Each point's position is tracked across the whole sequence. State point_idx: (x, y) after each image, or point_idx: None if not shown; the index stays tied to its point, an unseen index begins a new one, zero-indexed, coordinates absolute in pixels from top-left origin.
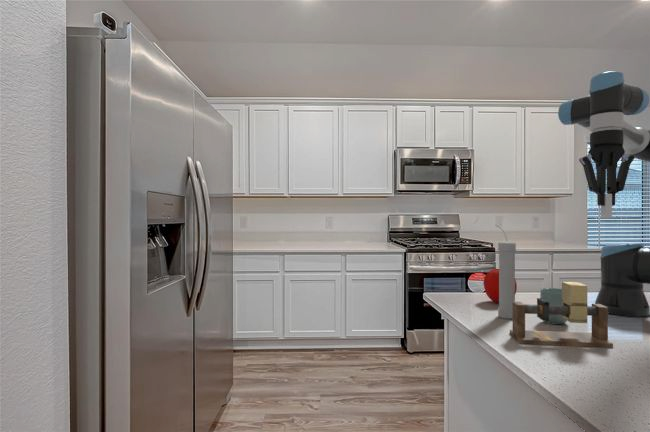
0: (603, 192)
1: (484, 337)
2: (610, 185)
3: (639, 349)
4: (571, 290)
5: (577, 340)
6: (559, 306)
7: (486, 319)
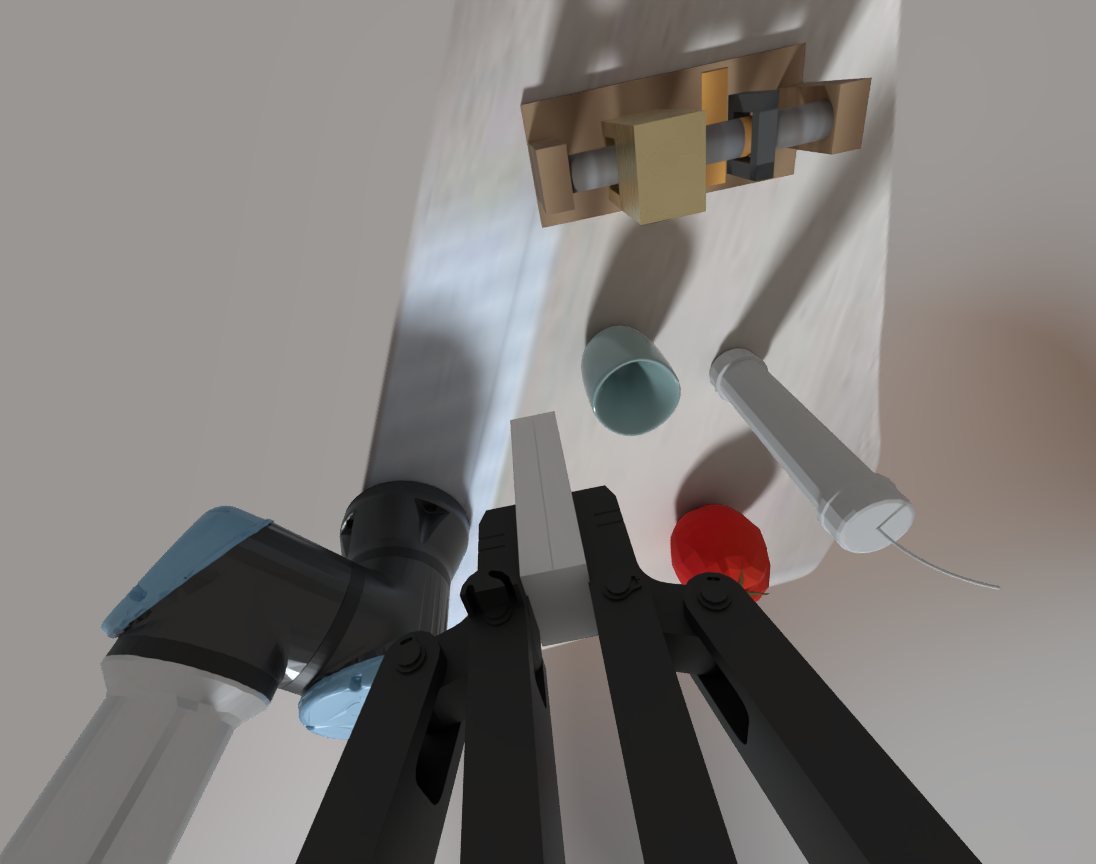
0: (615, 573)
1: (887, 89)
2: (534, 694)
3: (447, 111)
4: (693, 110)
5: (621, 104)
6: None
7: (801, 323)
